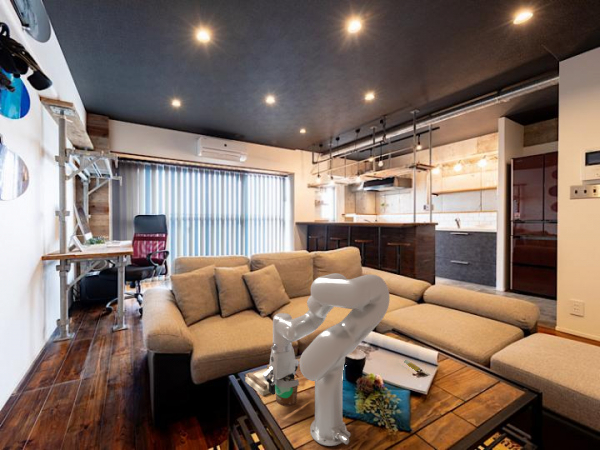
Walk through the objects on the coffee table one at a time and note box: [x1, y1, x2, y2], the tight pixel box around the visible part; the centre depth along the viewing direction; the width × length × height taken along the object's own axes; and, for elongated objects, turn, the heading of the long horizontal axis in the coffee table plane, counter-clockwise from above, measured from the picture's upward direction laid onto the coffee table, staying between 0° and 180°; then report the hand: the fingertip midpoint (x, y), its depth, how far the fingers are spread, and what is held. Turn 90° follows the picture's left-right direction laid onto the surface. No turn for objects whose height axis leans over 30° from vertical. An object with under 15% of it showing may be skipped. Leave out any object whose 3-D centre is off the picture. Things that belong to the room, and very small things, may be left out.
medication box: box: [404, 359, 421, 371], centre depth 133 cm, size 12×3×4 cm, turn 22°
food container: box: [273, 375, 300, 407], centre depth 110 cm, size 12×6×10 cm, turn 47°
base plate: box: [244, 363, 275, 397], centre depth 124 cm, size 14×14×4 cm
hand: (281, 388), depth 111 cm, fingers open, 9 cm apart
